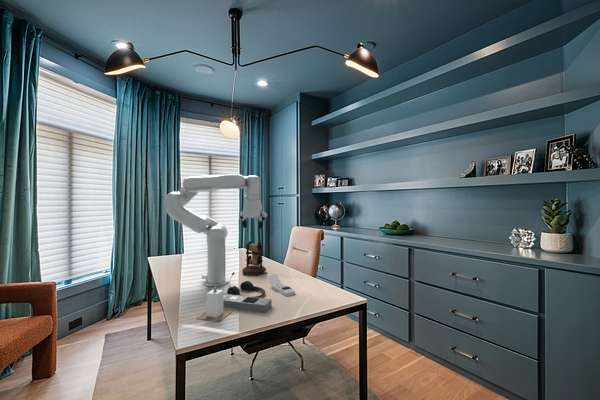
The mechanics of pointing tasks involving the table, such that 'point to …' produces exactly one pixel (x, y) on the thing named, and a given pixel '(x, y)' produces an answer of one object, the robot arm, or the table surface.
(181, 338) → the table surface
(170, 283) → the table surface
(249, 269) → the brown lantern
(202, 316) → the coaster
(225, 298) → the power strip
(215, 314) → the charger
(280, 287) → the light grey elongated piece
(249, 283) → the headset
